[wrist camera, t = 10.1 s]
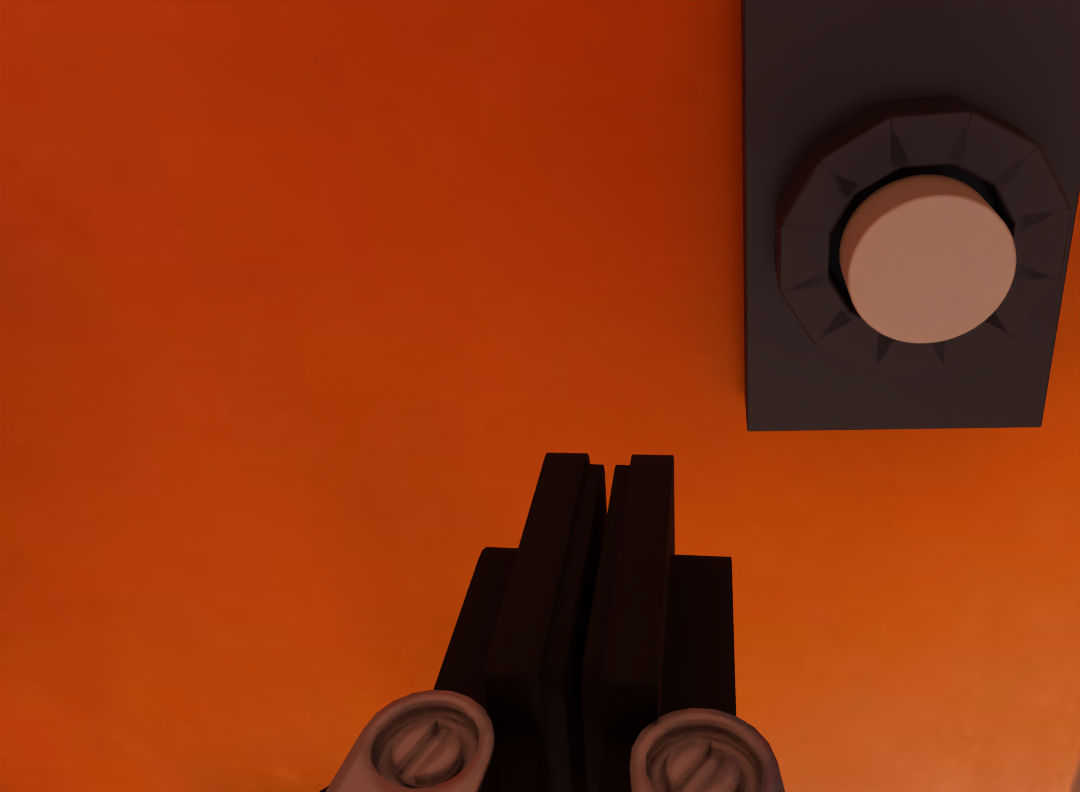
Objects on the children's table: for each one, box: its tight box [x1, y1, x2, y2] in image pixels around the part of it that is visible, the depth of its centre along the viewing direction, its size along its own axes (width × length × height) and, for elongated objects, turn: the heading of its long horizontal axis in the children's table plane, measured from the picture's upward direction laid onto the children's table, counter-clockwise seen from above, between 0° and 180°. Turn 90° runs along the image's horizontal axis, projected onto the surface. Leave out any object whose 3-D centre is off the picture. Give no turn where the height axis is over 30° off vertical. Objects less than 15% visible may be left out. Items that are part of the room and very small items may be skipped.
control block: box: [741, 0, 1080, 431], centre depth 24 cm, size 12×8×4 cm, turn 6°
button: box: [839, 174, 1016, 343], centre depth 22 cm, size 4×4×2 cm
